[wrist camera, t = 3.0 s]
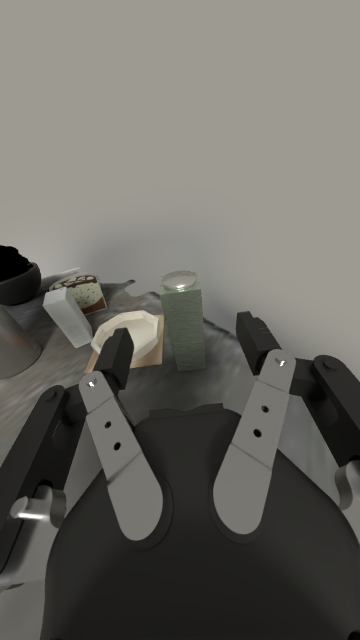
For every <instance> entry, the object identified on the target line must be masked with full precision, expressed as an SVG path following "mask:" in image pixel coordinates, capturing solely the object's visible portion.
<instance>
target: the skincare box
mask: <svg viewBox="0 0 360 640" xmlns="http://www.w3.org/2000/svg"><path fill="white" fill-rule="evenodd" d="M43 307H44V309H45V310H46V311H47V312H48V314H49V315H50V316H51V317H52V319H53V320H54V321H55V323H56V324H57V325H58V326H59V328H60V329H61V330H62V332H63V333H64V334H65V335H66V337H67V338H68V339H69V340H70V342H71V343H72V344H73V346H74V347H75V348H78V347H81V346H83V345H85V344H88V343H90V342H92V340H93V333H92V328H91V326H90V324H89V322H88V321H87V319H86V318H85V316H84V314H83V313H82V311H81V310H80V308H79V306H78V305H77V303H76V302H75V300H74V298H73V297H72V295H71V293H70V292H69V290H68V289H67V287H63V288H60V289H57V290H54V291H50V292H47V293H45V298H44V303H43Z"/></svg>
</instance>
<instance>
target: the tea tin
mask: <svg viewBox="0 0 360 640" xmlns="http://www.w3.org/2000/svg"><path fill="white" fill-rule="evenodd" d="M160 299H161V303H162V307H163V311H164V316H165V320H166V324H167V328H168V332H169V336H170V340H171V345H172V349H173V353H174V357H175V361H176V365H177V369H178V372H182V371H191V370H200V369H206V359H205V343H204V328H203V314H202V298H201V287H200V284H199V280H198V276H197V273H196V272H190V271H176V272H172V273H169V274H167V275H166V276H163V277H161V285H160Z"/></svg>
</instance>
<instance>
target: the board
mask: <svg viewBox="0 0 360 640" xmlns="http://www.w3.org/2000/svg"><path fill="white" fill-rule="evenodd" d="M154 317H156V318H158V320H159V323H160V329H159V331H160V338H159V341H158V343H157V345H156V346H155V348H154V349H153V350H152V351H151V352H150V353H149V354H148V355H146V356H145V357H143V358H142V359H140V360H138V361H135V362H133V363H131V365H130V368H136V367H145V366H153V365H162V354H163V334H164V315H157V316H154ZM98 356H99V355H98V354H97V352H96V351H95V350H94V352H93V354H92V356H91V358H90V360H89V363H88V365H87V367H86V369H85V371H84V373H90V372H92V370H93V368H94V366H95V363H96V361H97V359H98Z"/></svg>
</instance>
